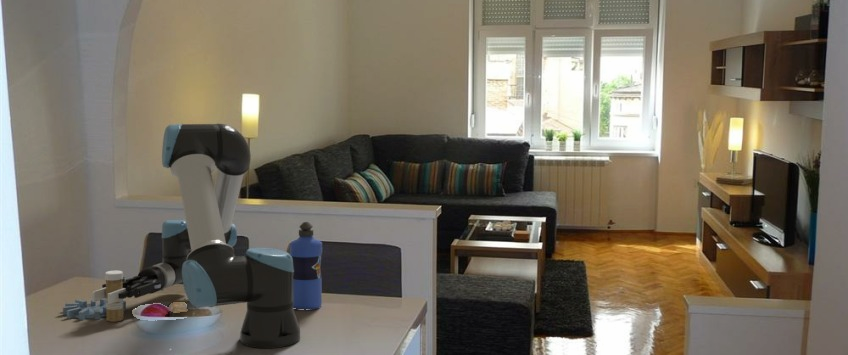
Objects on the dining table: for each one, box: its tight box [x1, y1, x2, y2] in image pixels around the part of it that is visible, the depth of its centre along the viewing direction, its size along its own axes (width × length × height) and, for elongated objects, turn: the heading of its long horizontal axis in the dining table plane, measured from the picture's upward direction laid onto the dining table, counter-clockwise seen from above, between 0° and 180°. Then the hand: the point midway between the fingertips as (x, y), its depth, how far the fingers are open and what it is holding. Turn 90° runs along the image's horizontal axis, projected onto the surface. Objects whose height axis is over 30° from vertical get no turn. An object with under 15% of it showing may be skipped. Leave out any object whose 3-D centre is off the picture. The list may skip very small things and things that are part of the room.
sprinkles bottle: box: [104, 269, 124, 323], centre depth 219 cm, size 5×5×13 cm
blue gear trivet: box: [62, 296, 127, 321], centre depth 227 cm, size 16×16×2 cm
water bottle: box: [289, 221, 323, 310], centre depth 235 cm, size 9×9×25 cm
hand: (101, 297), depth 214 cm, fingers closed on sprinkles bottle, 4 cm apart
